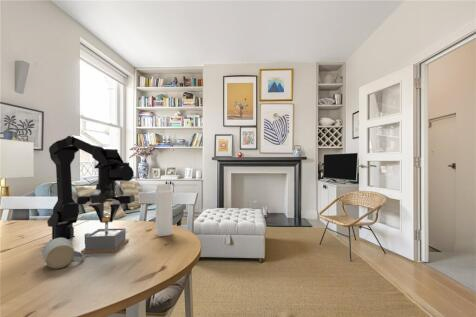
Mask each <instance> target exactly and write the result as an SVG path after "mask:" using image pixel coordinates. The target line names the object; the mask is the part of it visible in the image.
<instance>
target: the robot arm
mask: <svg viewBox="0 0 476 317" xmlns="http://www.w3.org/2000/svg"><path fill="white" fill-rule="evenodd" d="M80 150H81V151H83V152H85V153H87V154H89V155H91V157H92V159H94V160H95V161H96V162H98V163H96V165H94V169H98V170H97V171H98V172H97V173H98V174H97V179H98V182H97V183H96V186H95V189H94V190H93V191H92V192H91V193H90V194H84V195H83V194H82V195H80V196H78V197H77V198H76V201H75V200H74V198H73V187H72V186H73V185H72V183H73V182H72V170H71V169H72V167H71V164H72V163H73V161H74V160H75V159H76V158H75V156H76V154H77V152H79V151H80ZM118 151H119V150H118V149H117V148H116V147H111V146H104V145H100V144H98V143H95V142H92V141H90V140H88V139H86V138H84V137H82V136H80V135H73V134H71V135H68V136H66V137H65V138H63V139H59V140H57V141H55V142H54V143H52V144H51V145H50V146H49V148H48V153H49V156H50V157H49V158H50V159H51V161H52V162H53V163H54V165H55V172H56V174H55V175H56V191H57V200H56V203H55V204H54V206H53V208H52V214H51V216H49V218H48V220H47V221H46V222H47V227H50V228H51V239H50V240H49V241H51V240H53V239H55V238H66V239H68V240H69V241H70V240H72V239H73V238H75V227H74V226H73V224H74V223H75V224H77V221H78V218H79V215H80V208H79V207H80V205H86V204H87V203H89V205H88V206H89V207H90V208H91V207H92V209H93V210H94V211H95V212H96V215H97V216H98V217H97V218H98V219H99V223H102V216H105V215H104V213H105V212H104V208H105V207H104V206H105V203H106V202H108V203H109V202H112V203H111V204H109V207H110V222H109V223H112V222H113V221H114V219H115V217H116V215H117V212H118V211H119V209H120V207H121V206H122V205H124V204H126V205H128V204H129V205H130V204H132V203H134V202H135V194H133V193H131V194H130V193H128V194H127V193H125V194H121V195H119V196H117V194H118V193H117V192H116V186H118V183H117V182H130V181H131V180H133V177H134V169H133V167H132V166H130V162H125V161H124V160H123V159H122V157H121V155H120V153H119V152H118Z"/></svg>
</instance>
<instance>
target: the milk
mask: <svg viewBox="0 0 476 317" xmlns="http://www.w3.org/2000/svg"><path fill="white" fill-rule="evenodd" d="M156 187H157V188H156V190H155V234H156V236H157V237H159V238H160V237H165V236H166V237H167V236H172V235H173V190H172V184H171V183H168V184H167V183H163V184H157V185H156Z"/></svg>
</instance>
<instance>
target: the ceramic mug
mask: <svg viewBox="0 0 476 317" xmlns="http://www.w3.org/2000/svg"><path fill="white" fill-rule="evenodd" d="M50 240H51V241H50ZM50 240H49V241H48V242H47V243H46V244H45V245H44V247H43V249H42V256H43V259H44V262H45V265H46V266H48V267H49V268H50V269H54V270H58V269H62V268H65V267H67V266H68V265H70V263H71V262H74V263H75V262H76V263H77V262H78V263H81V262H84V261H85V258H86V255H85V253H81V251H78V250H75V249H74V247H73V244H72V242H71V241H70V240H68V239H66V238H55V239H53V240H52V239H50Z"/></svg>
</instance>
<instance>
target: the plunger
mask: <svg viewBox="0 0 476 317" xmlns="http://www.w3.org/2000/svg"><path fill="white" fill-rule="evenodd" d="M110 215H111V214H110ZM110 215H104V216H102V223H103V224H104V229H105V231H99V232H97V233H96V234H94V235H92V236H114V235H116V234H117V233H118V232H120V231H121V230H108V229H109V223H111V222H110Z"/></svg>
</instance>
